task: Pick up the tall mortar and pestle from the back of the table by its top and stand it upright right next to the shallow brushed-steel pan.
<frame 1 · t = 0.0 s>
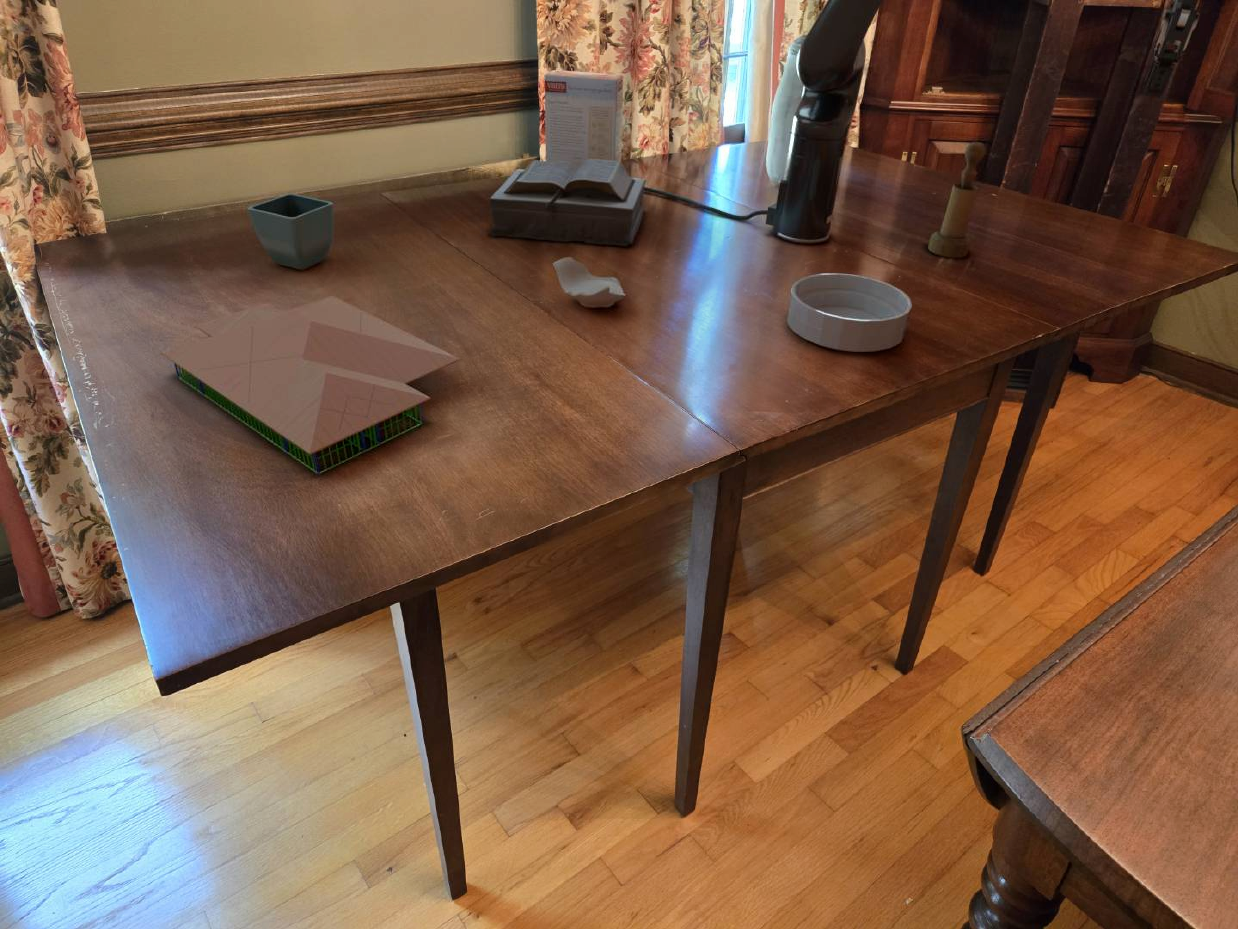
hand: (1152, 90, 113), 29 cm above the table, tool pointing down, fingers open, 8 cm apart
bible: (570, 224, 147), on the table
cracker box: (583, 188, 165), on the table
mortar and pestle: (947, 252, 143), on the table
pan: (843, 329, 115), on the table
house: (320, 384, 97), on the table
pottery shard: (593, 302, 120), on the table
flower pot: (302, 264, 127), on the table
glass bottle: (787, 186, 171), on the table
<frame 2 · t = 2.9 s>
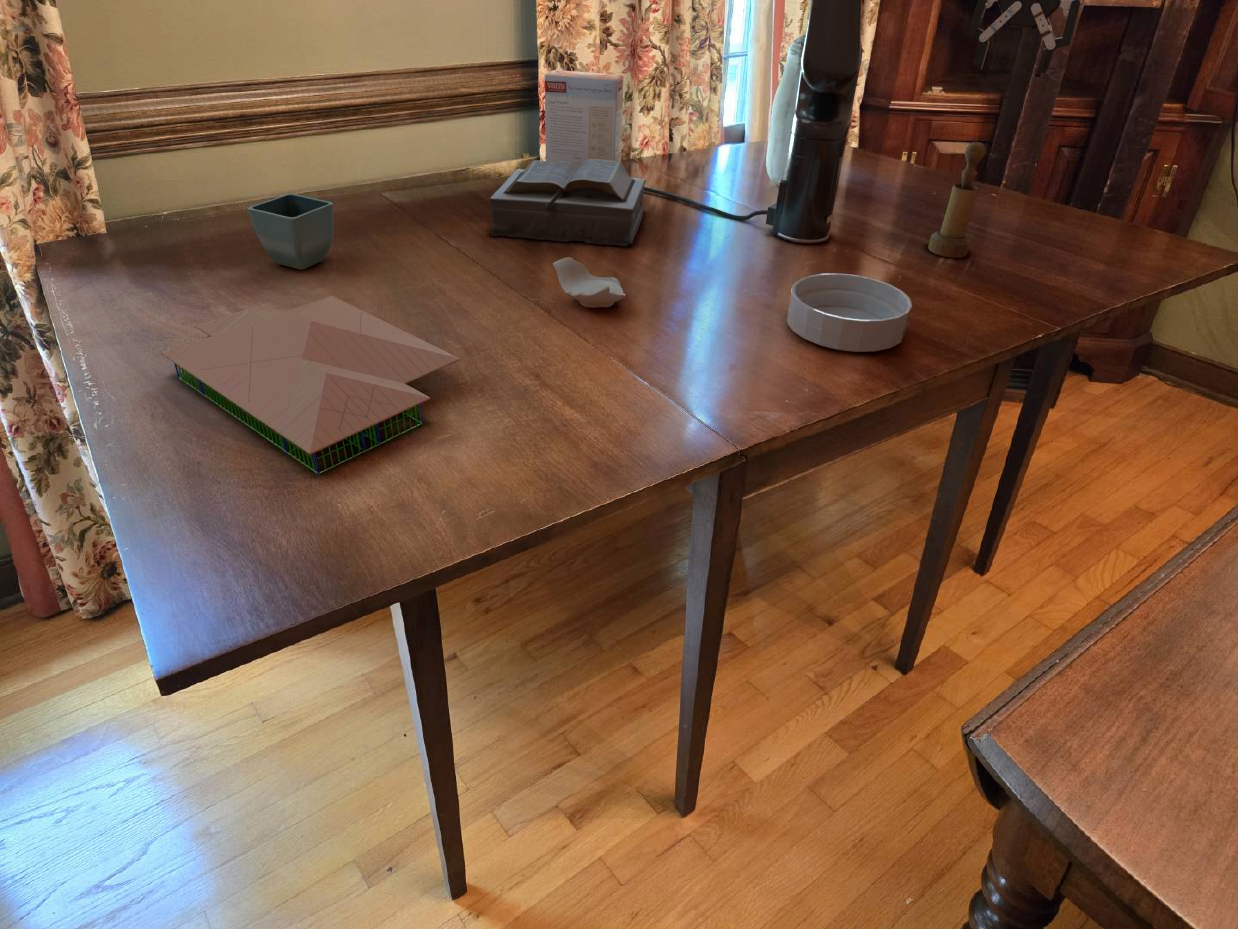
hand: (1008, 72, 125), 29 cm above the table, tool pointing down, fingers open, 8 cm apart
nothing on the table moved.
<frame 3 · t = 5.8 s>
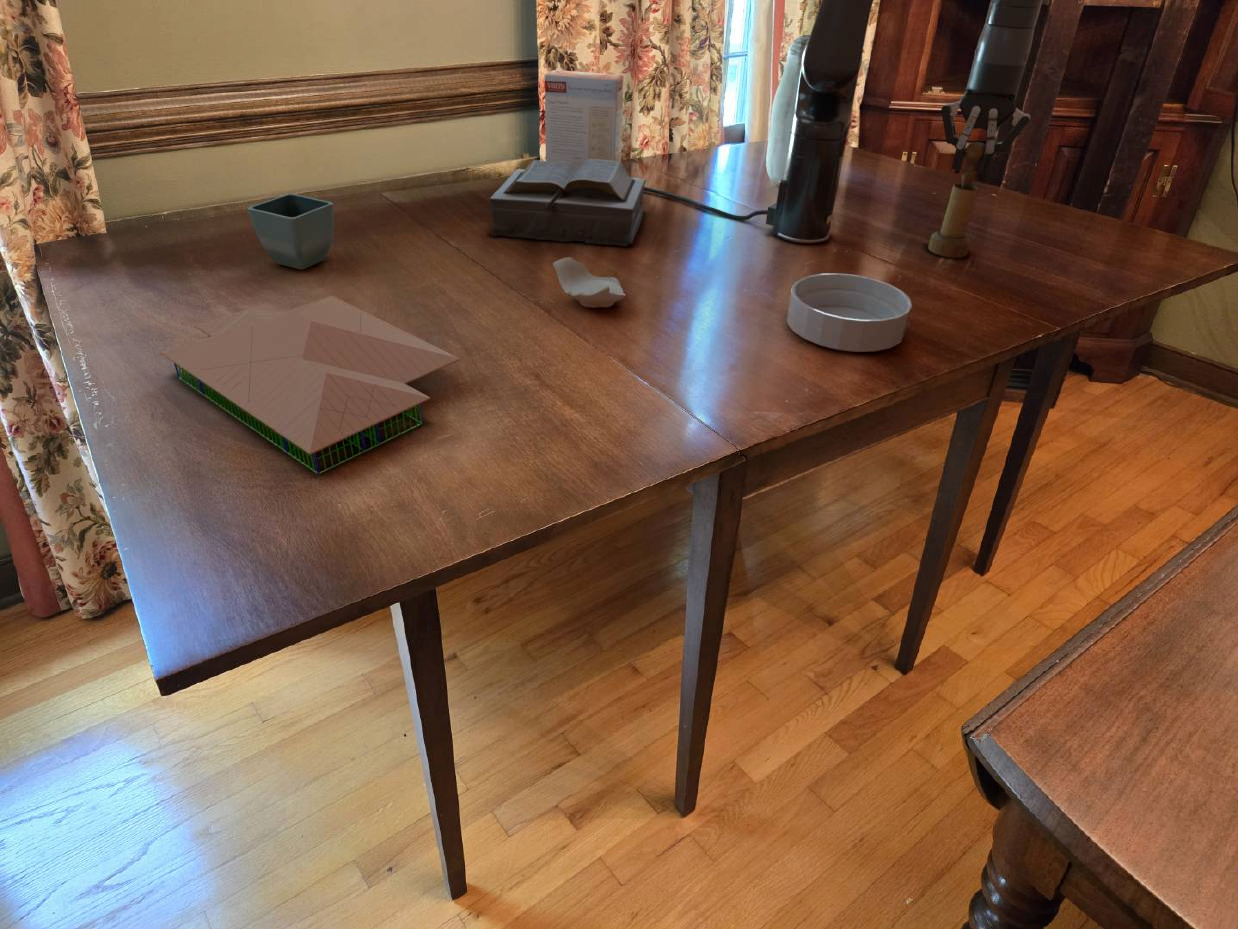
hand: (968, 173, 135), 13 cm above the table, tool pointing down, fingers closed on mortar and pestle, 3 cm apart
mortar and pestle: (947, 252, 143), on the table, touching gripper
everything else where it was.
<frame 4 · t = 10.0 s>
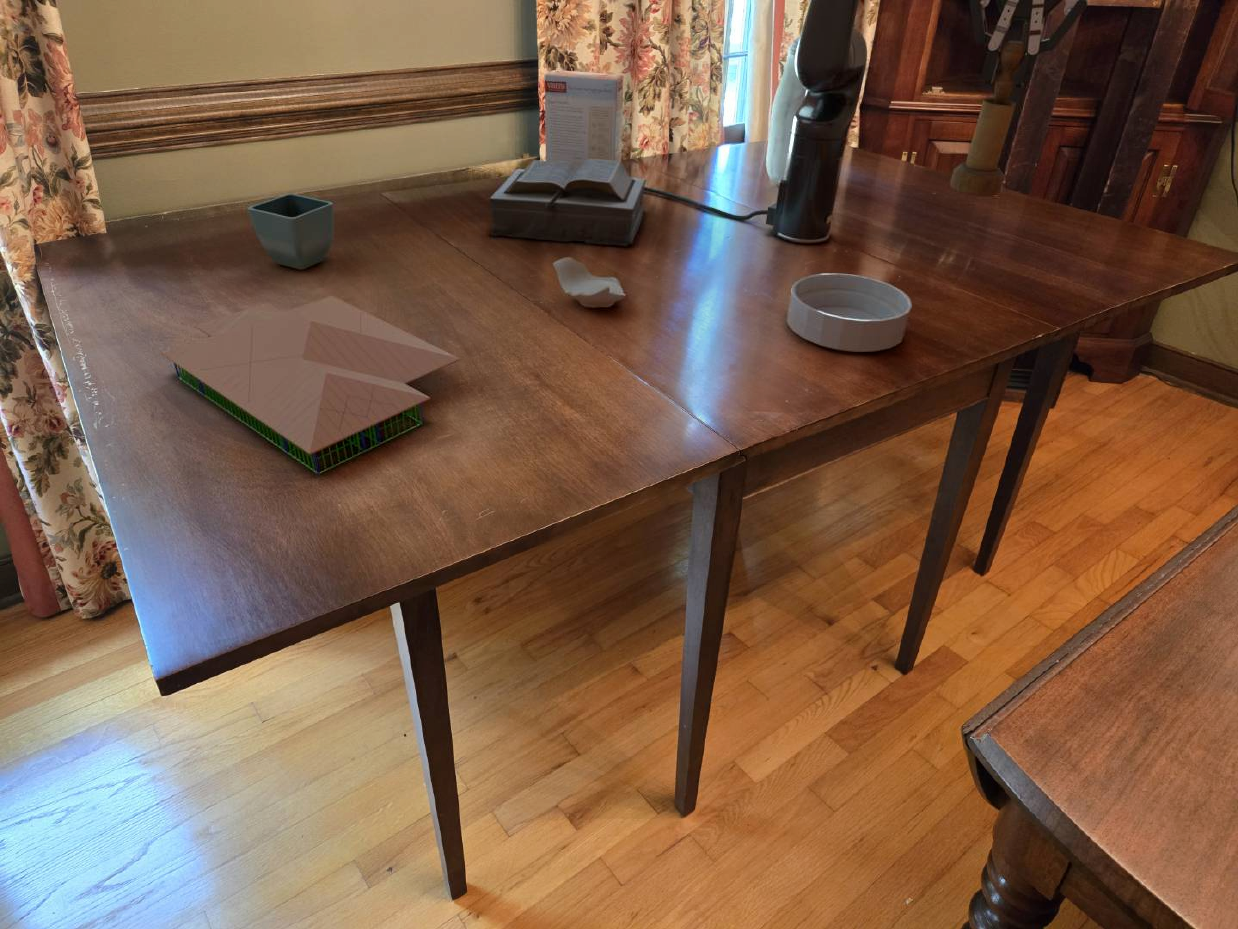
hand: (1003, 84, 104), 31 cm above the table, tool pointing down, fingers closed on mortar and pestle, 3 cm apart
mortar and pestle: (973, 190, 111), point 18 cm above the table, touching gripper
everything else where it was.
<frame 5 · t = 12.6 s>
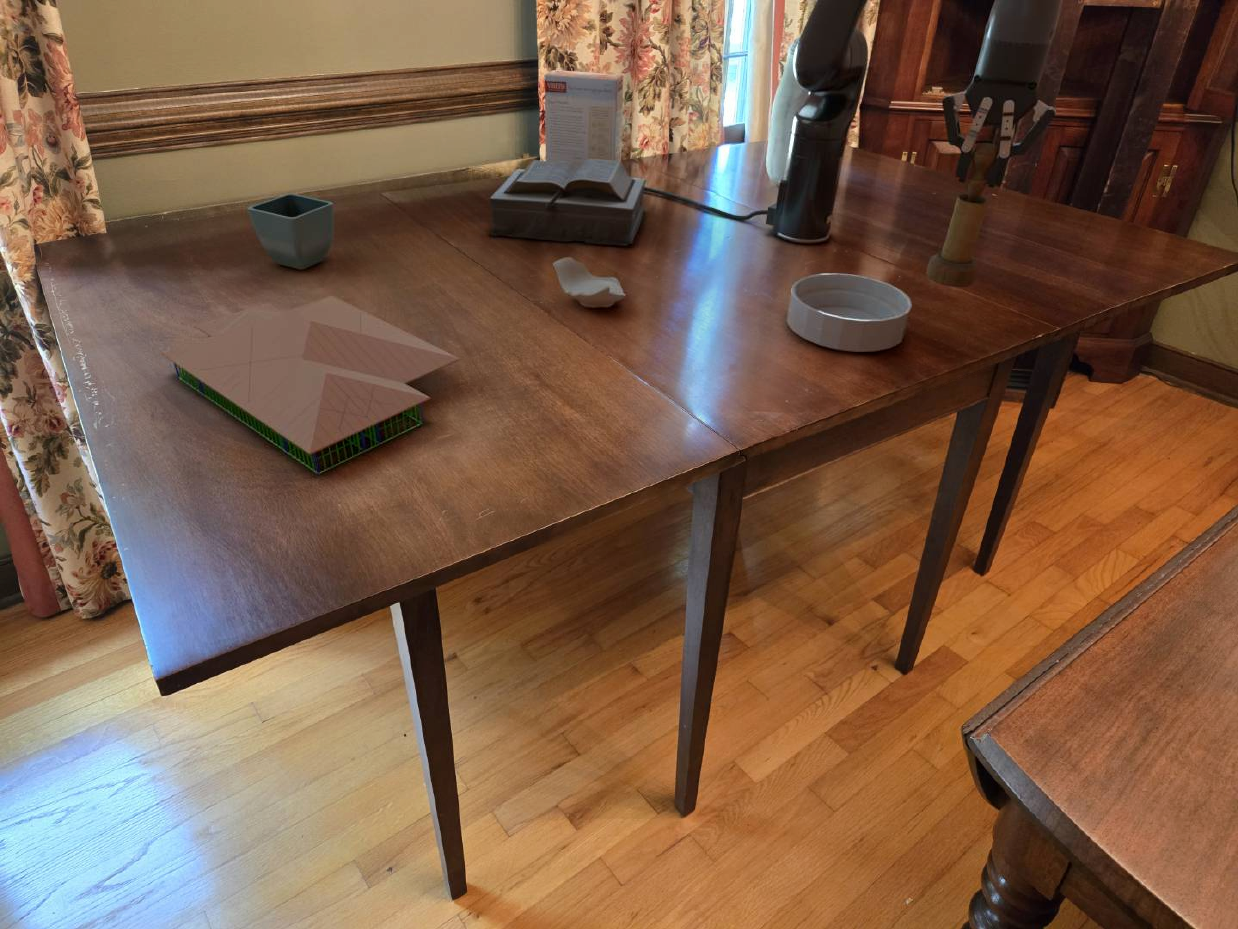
hand: (976, 182, 107), 20 cm above the table, tool pointing down, fingers closed on mortar and pestle, 3 cm apart
mortar and pestle: (949, 279, 115), point 6 cm above the table, touching gripper
everything else where it was.
when the fingers open (13 cm above the table, at t = 14.5 s): mortar and pestle stays where it is, on the table.
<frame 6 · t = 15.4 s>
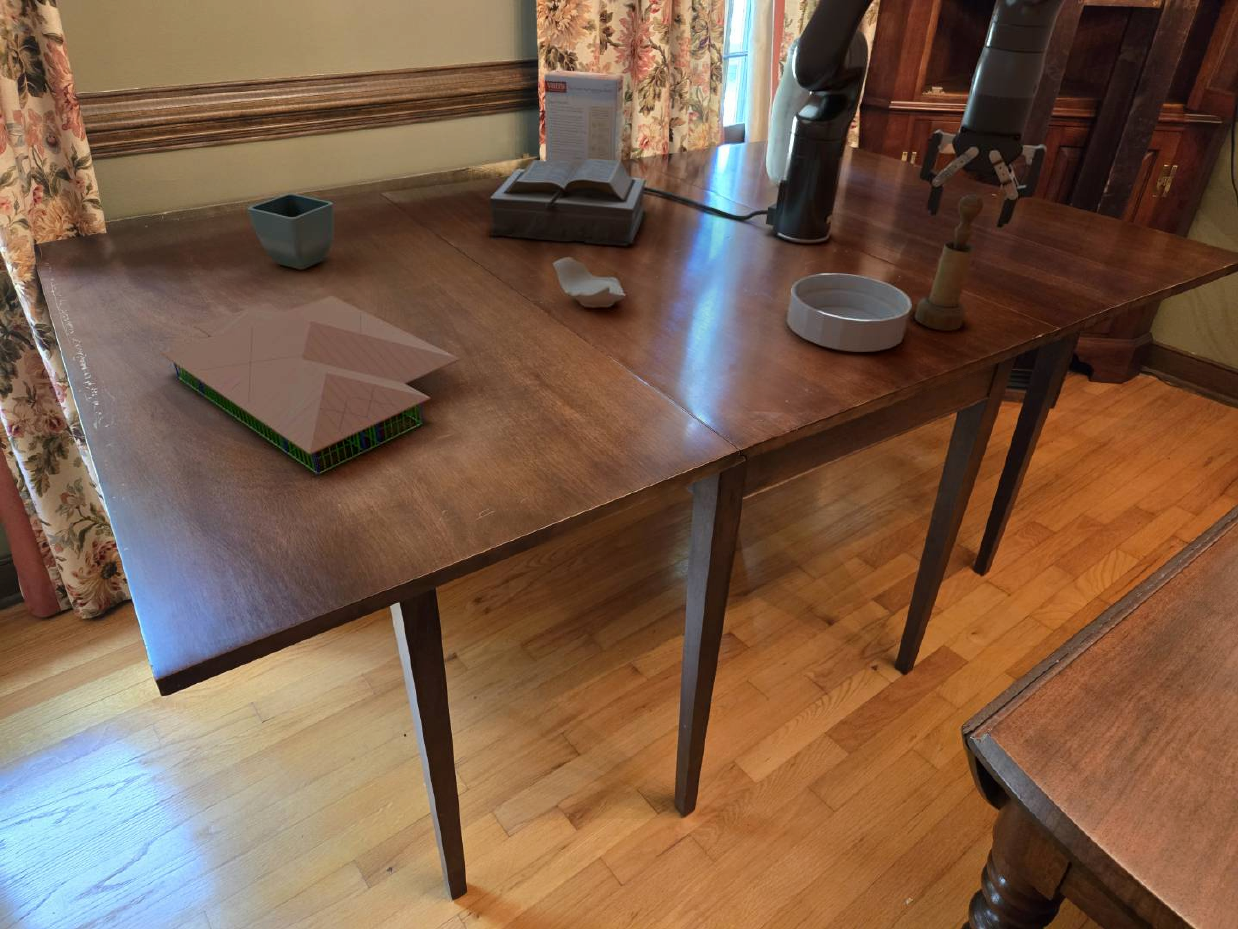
hand: (966, 219, 110), 15 cm above the table, tool pointing down, fingers open, 8 cm apart
mortar and pestle: (937, 322, 119), on the table
everything else where it was.
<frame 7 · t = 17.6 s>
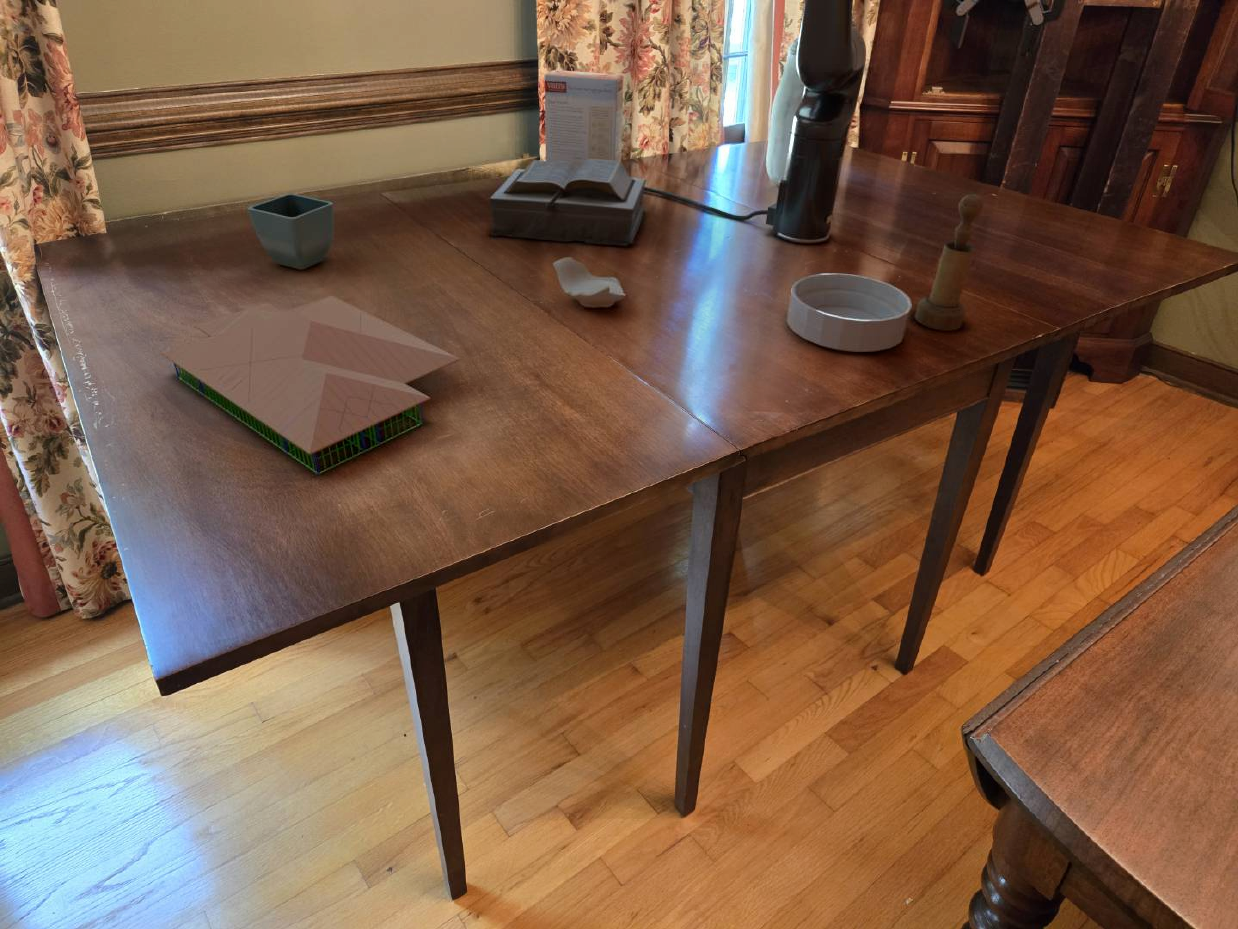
hand: (989, 51, 109), 33 cm above the table, tool pointing down, fingers open, 8 cm apart
nothing on the table moved.
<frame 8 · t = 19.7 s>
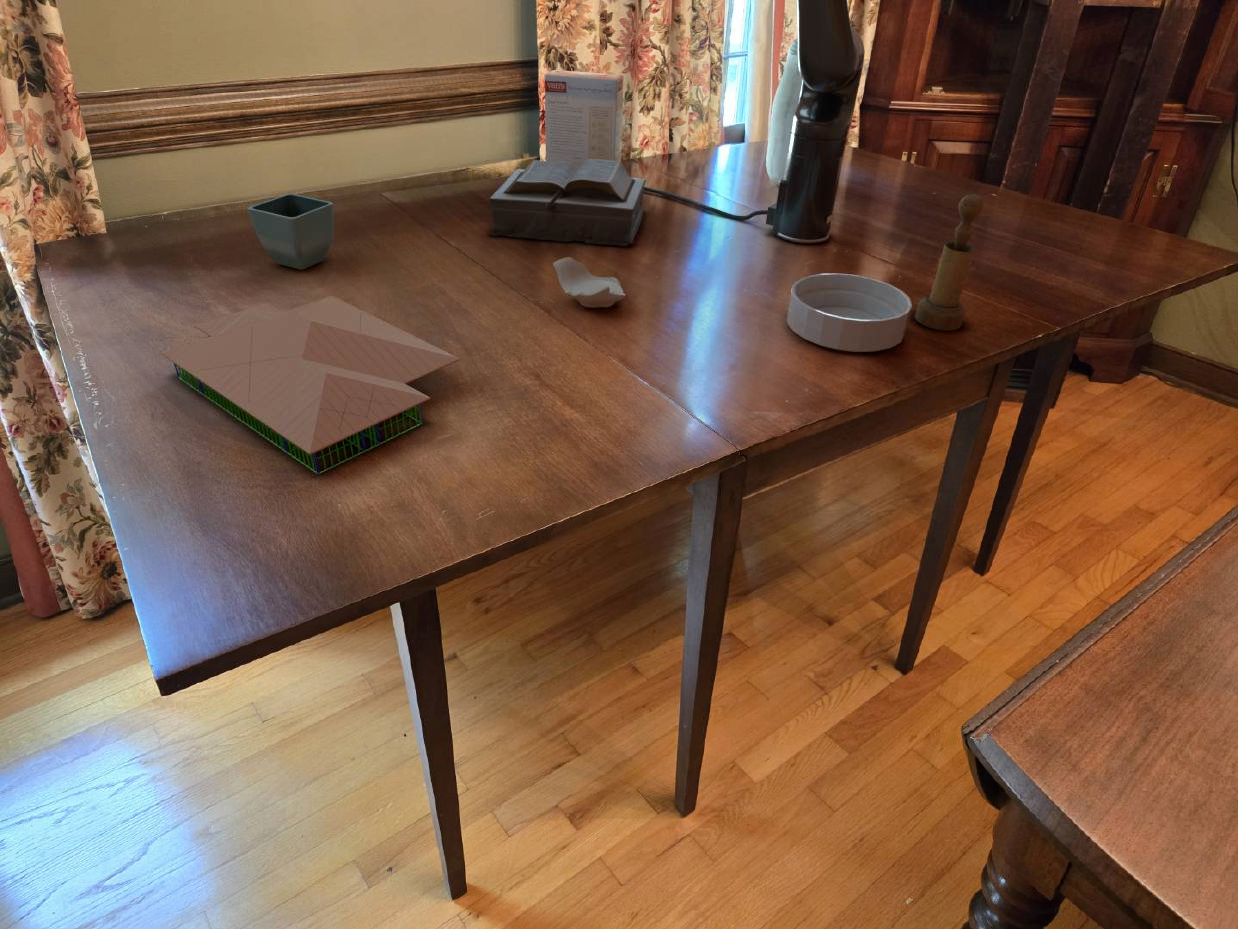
hand: (977, 17, 118), 36 cm above the table, tool pointing down, fingers open, 8 cm apart
nothing on the table moved.
at the end: mortar and pestle inside the target area on the table beside the pan (0.3 cm from its centre), on the table; mortar and pestle tilted 0°; the gripper is holding nothing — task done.
